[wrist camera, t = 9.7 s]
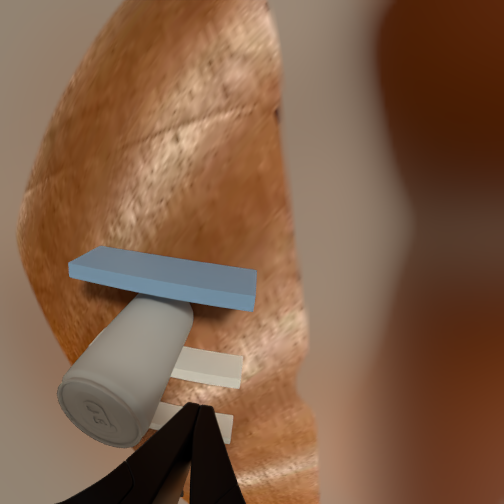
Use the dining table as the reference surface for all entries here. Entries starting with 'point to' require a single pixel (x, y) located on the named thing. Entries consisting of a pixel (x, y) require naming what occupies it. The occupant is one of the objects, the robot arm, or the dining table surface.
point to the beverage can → (126, 370)
